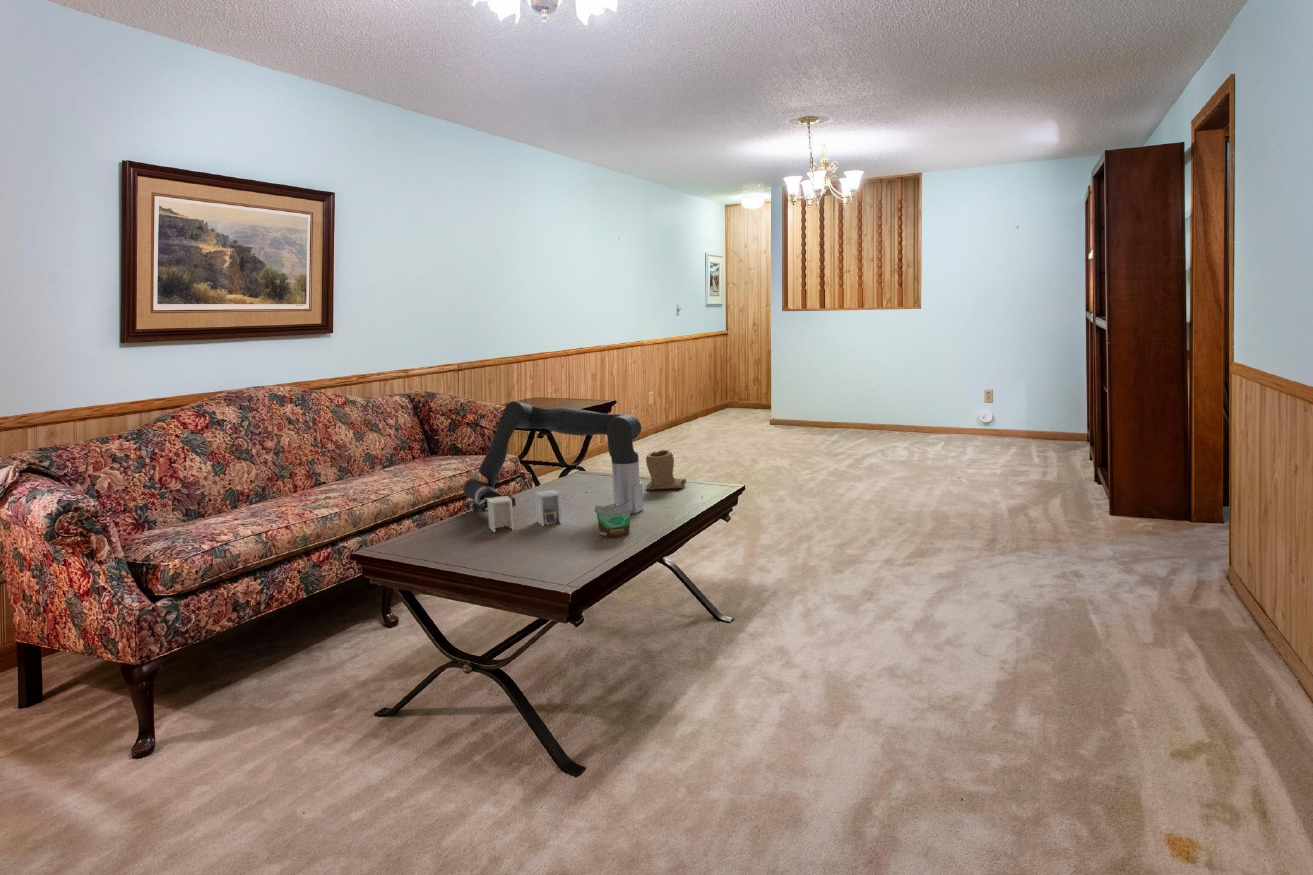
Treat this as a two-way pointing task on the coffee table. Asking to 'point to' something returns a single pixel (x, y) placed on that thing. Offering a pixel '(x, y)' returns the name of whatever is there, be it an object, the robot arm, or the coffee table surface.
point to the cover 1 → (500, 512)
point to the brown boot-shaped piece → (662, 471)
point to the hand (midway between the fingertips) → (497, 507)
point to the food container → (614, 520)
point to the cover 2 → (547, 504)
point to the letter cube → (549, 516)
